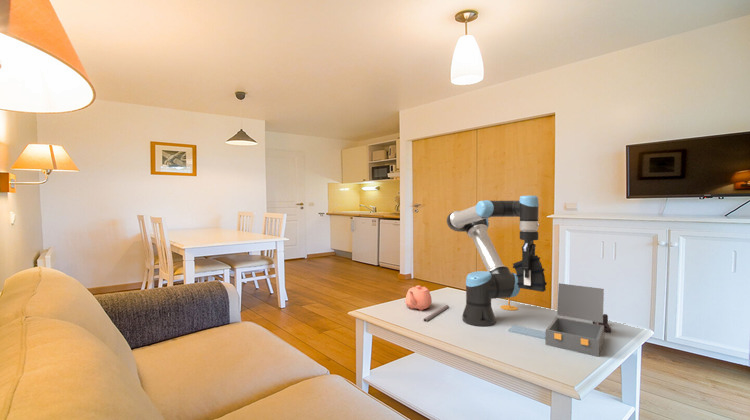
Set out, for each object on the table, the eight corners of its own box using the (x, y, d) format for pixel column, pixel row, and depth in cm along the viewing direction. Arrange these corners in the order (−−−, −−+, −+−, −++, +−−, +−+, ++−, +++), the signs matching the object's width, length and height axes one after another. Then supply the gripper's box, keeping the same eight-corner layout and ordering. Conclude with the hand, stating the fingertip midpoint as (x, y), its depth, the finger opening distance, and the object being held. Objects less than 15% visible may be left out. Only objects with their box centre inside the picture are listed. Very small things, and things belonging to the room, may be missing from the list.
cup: (498, 305, 193) (498, 276, 192) (515, 305, 191) (515, 277, 191) (502, 310, 184) (502, 280, 183) (520, 310, 182) (520, 280, 182)
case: (545, 345, 137) (545, 306, 137) (557, 327, 157) (557, 293, 157) (598, 357, 126) (598, 315, 126) (605, 336, 146) (605, 300, 146)
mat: (508, 331, 153) (508, 329, 153) (513, 326, 159) (513, 324, 159) (544, 339, 143) (544, 337, 143) (549, 333, 150) (549, 332, 150)
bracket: (595, 331, 153) (595, 320, 153) (592, 323, 164) (592, 312, 164) (611, 333, 150) (611, 322, 150) (606, 325, 161) (606, 314, 161)
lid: (558, 283, 155) (559, 283, 156) (557, 315, 153) (557, 314, 154) (603, 288, 145) (603, 288, 146) (602, 323, 143) (603, 322, 144)
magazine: (551, 289, 143) (535, 255, 147) (522, 297, 151) (507, 265, 155) (554, 287, 145) (538, 254, 150) (525, 296, 154) (511, 264, 158)
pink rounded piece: (398, 311, 182) (398, 288, 182) (414, 302, 199) (414, 281, 199) (421, 315, 175) (421, 291, 175) (436, 305, 192) (436, 284, 192)
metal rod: (448, 308, 188) (448, 305, 188) (426, 322, 165) (426, 318, 165) (445, 308, 189) (445, 304, 189) (423, 322, 166) (423, 317, 166)
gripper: (533, 232, 141) (532, 288, 142) (542, 230, 155) (542, 281, 155) (514, 231, 146) (514, 286, 146) (525, 229, 160) (525, 279, 160)
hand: (528, 283), depth 151 cm, fingers closed on magazine, 4 cm apart
